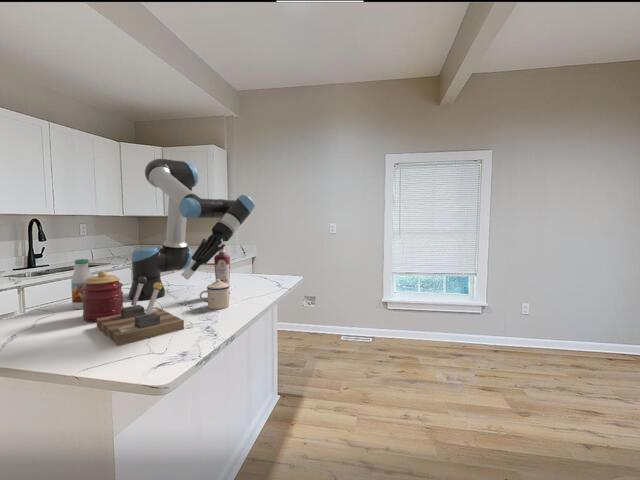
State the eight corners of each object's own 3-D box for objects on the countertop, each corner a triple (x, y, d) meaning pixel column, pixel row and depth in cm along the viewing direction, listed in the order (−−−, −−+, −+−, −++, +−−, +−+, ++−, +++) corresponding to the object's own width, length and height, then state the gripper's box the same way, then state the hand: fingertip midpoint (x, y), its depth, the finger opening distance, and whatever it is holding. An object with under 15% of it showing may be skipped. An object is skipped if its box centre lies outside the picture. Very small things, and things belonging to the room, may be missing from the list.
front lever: (142, 311, 108) (153, 280, 110) (150, 313, 110) (161, 282, 112) (145, 313, 106) (157, 281, 108) (153, 315, 108) (165, 283, 110)
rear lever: (127, 303, 118) (138, 275, 120) (135, 305, 120) (146, 276, 122) (130, 305, 116) (141, 276, 118) (138, 306, 118) (149, 278, 120)
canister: (128, 310, 133) (126, 267, 132) (117, 321, 120) (115, 273, 119) (91, 312, 130) (89, 268, 129) (76, 323, 117) (73, 274, 116)
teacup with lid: (228, 302, 146) (227, 276, 145) (231, 308, 137) (230, 280, 137) (199, 305, 141) (198, 278, 140) (200, 311, 133) (199, 283, 132)
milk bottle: (68, 308, 136) (65, 260, 134) (87, 303, 143) (85, 257, 141) (80, 310, 133) (77, 261, 131) (99, 305, 140) (97, 258, 139)
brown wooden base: (96, 327, 114) (96, 311, 113) (157, 314, 128) (156, 300, 128) (117, 345, 98) (117, 326, 98) (183, 328, 113) (183, 312, 112)
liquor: (231, 293, 162) (230, 237, 160) (230, 297, 155) (229, 238, 153) (215, 294, 160) (214, 237, 158) (214, 298, 153) (212, 238, 151)
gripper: (241, 235, 124) (201, 286, 113) (222, 234, 133) (183, 281, 122) (228, 221, 120) (185, 272, 109) (210, 221, 129) (168, 268, 118)
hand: (184, 277), depth 115 cm, fingers closed
